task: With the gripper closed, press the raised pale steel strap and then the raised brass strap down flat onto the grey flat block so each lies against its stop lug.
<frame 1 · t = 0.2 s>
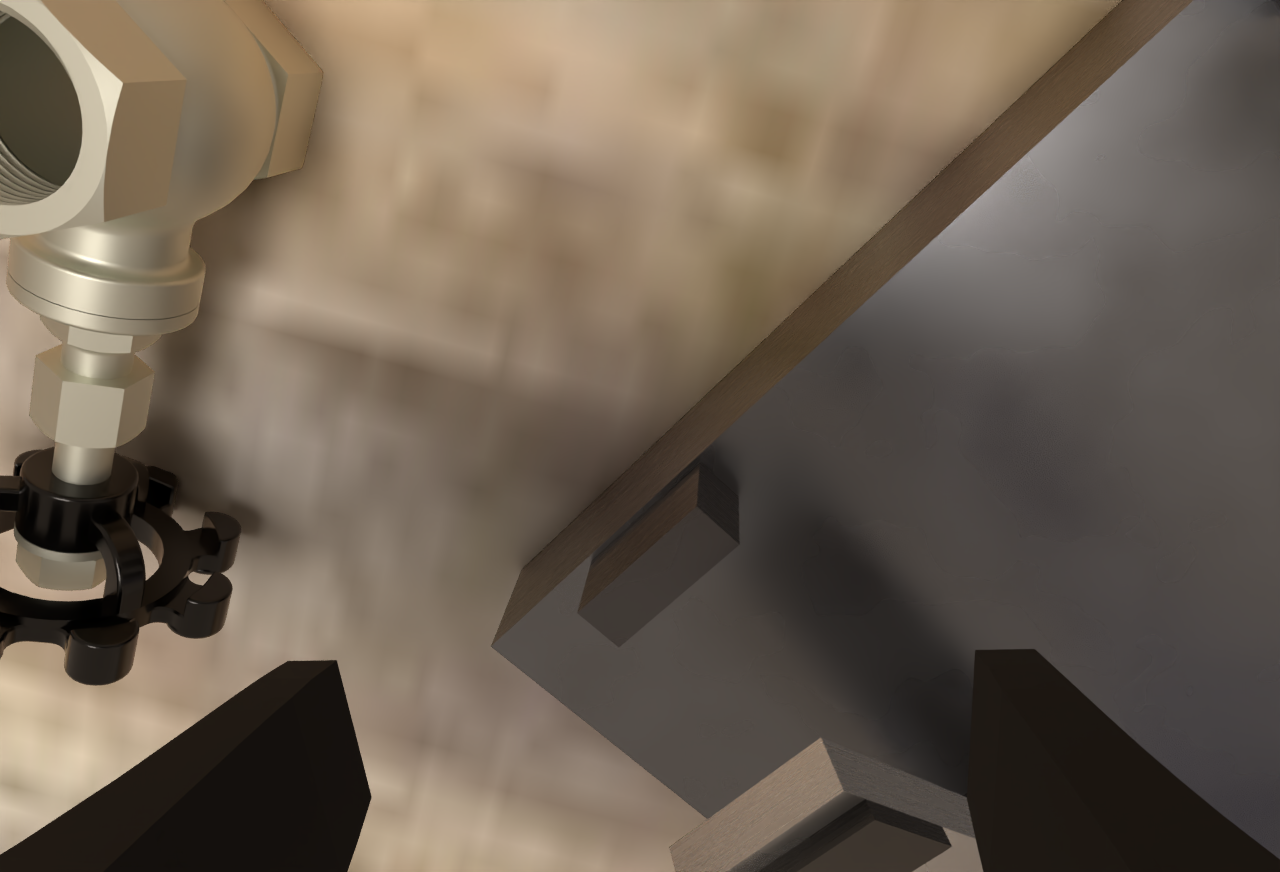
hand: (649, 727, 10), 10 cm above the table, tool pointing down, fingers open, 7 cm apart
valve: (206, 269, 20), on the table
grey flat block: (1143, 462, 19), on the table
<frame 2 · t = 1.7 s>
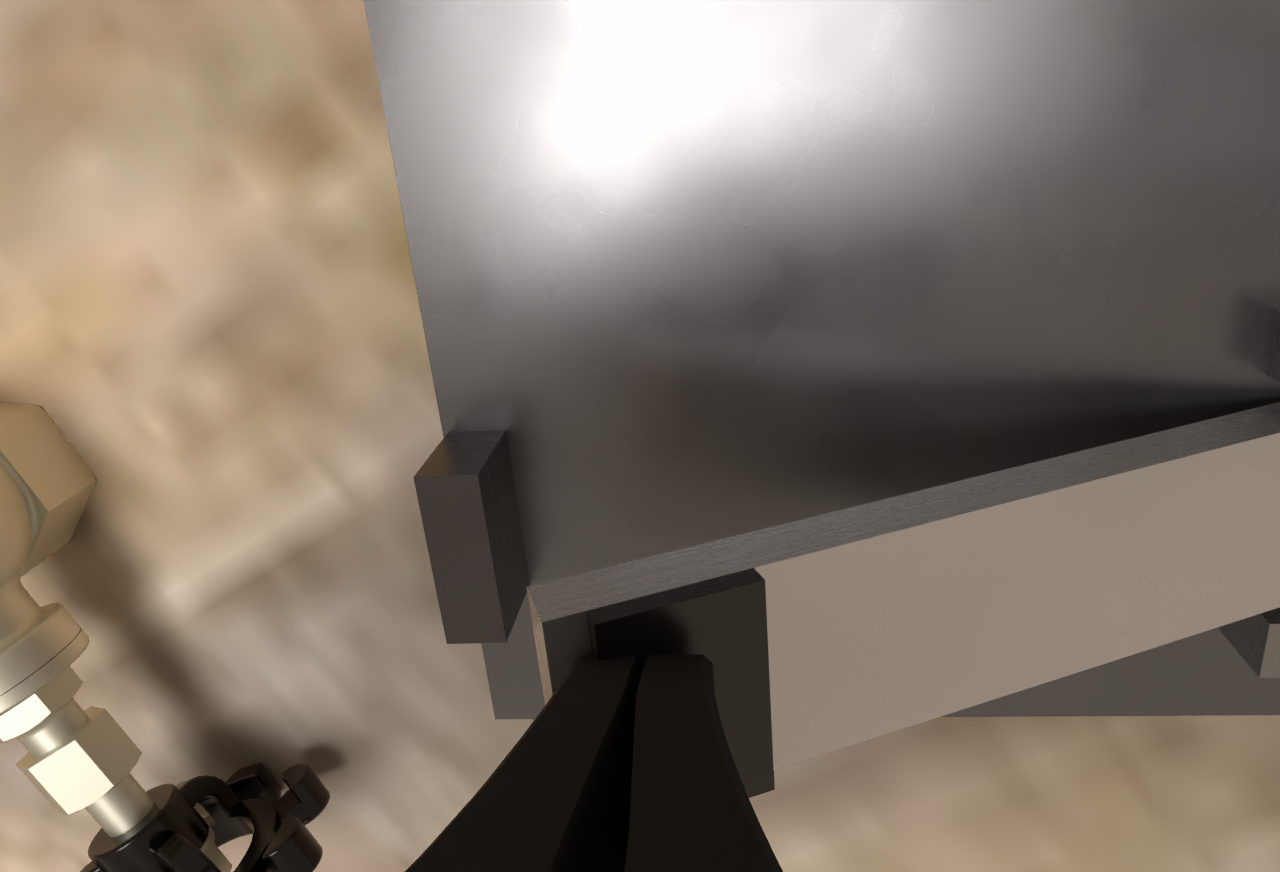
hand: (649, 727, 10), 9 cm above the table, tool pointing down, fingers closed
steel strap: (990, 595, 12), point 6 cm above the table, hinge at 24.2°, touching gripper
valve: (132, 602, 22), on the table
grey flat block: (874, 38, 15), on the table
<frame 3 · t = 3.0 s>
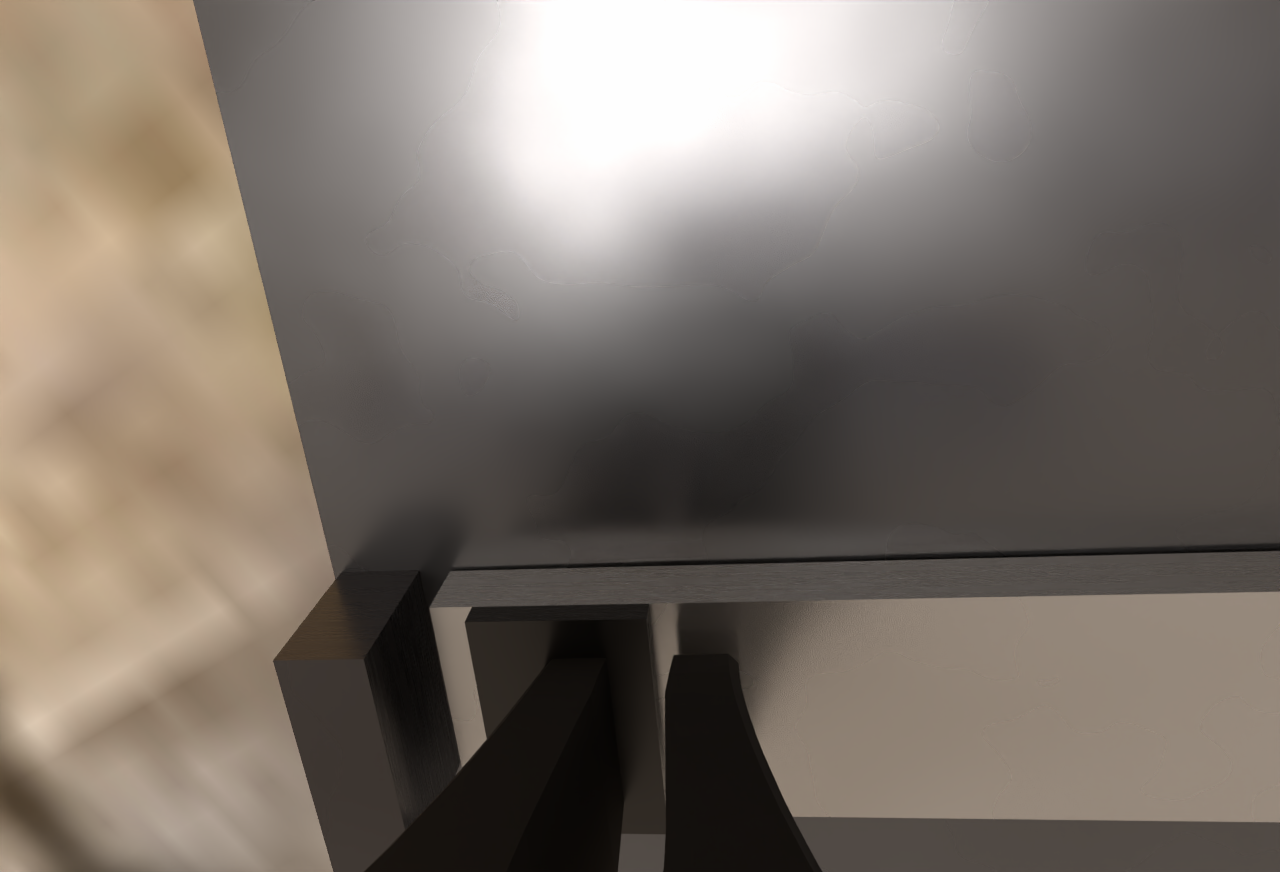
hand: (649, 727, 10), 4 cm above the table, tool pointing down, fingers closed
steel strap: (970, 699, 10), point 4 cm above the table, hinge at -0.3°, touching gripper
grey flat block: (928, 31, 11), on the table
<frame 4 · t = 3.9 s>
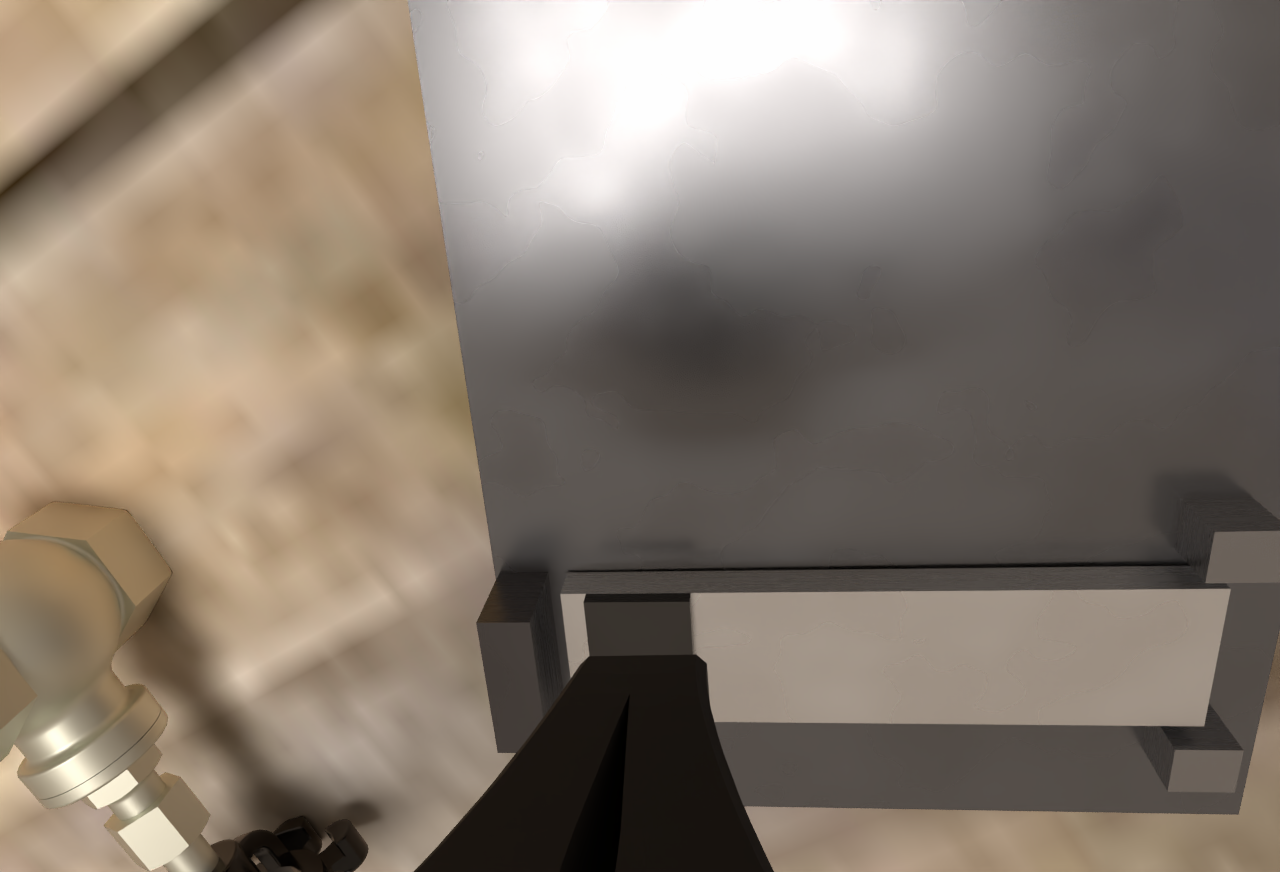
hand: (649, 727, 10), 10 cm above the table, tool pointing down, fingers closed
steel strap: (877, 651, 18), point 4 cm above the table, hinge at -0.3°
valve: (196, 675, 25), on the table
grey flat block: (860, 250, 18), on the table
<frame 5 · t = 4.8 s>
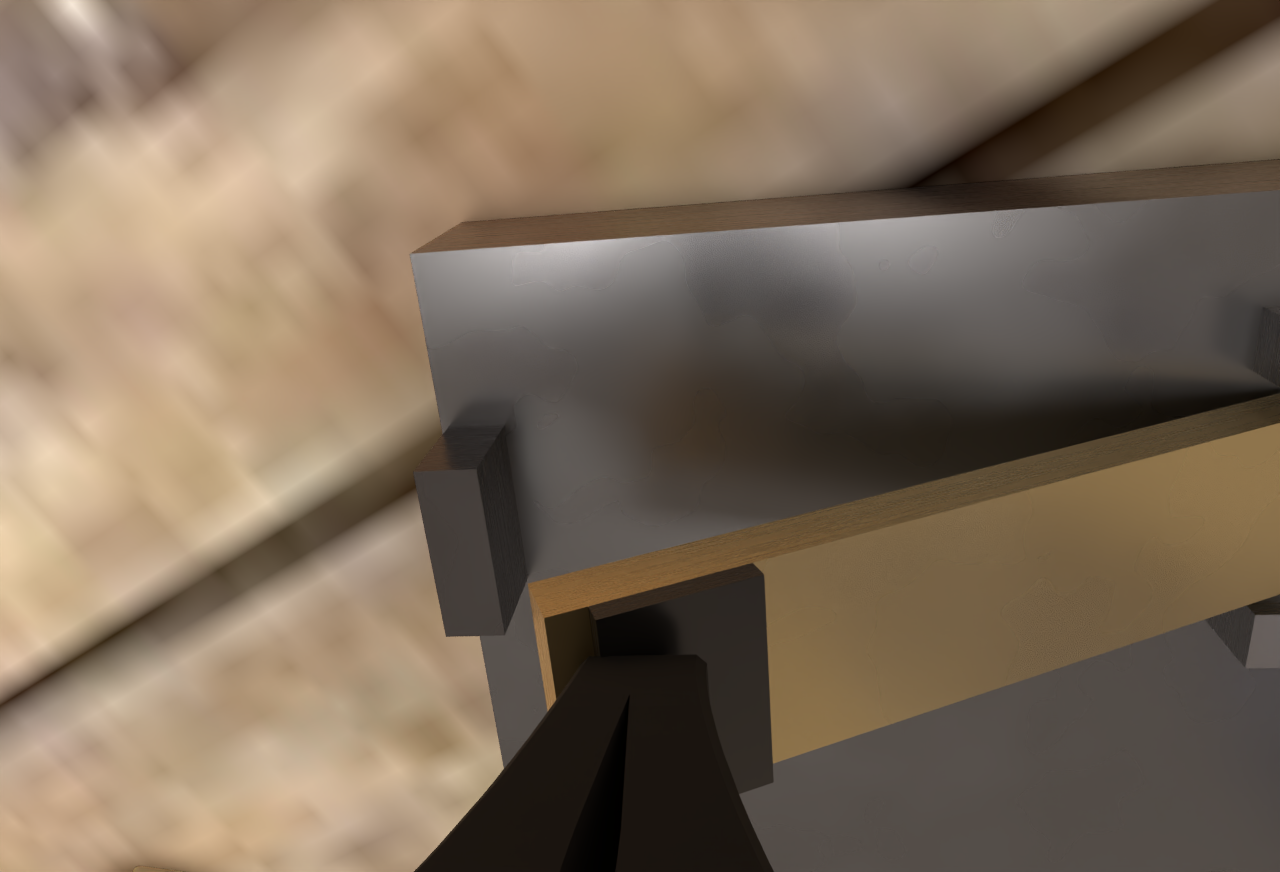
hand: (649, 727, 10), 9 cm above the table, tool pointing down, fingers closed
brass strap: (984, 589, 12), point 6 cm above the table, hinge at 25.0°, touching gripper
grey flat block: (865, 712, 21), on the table
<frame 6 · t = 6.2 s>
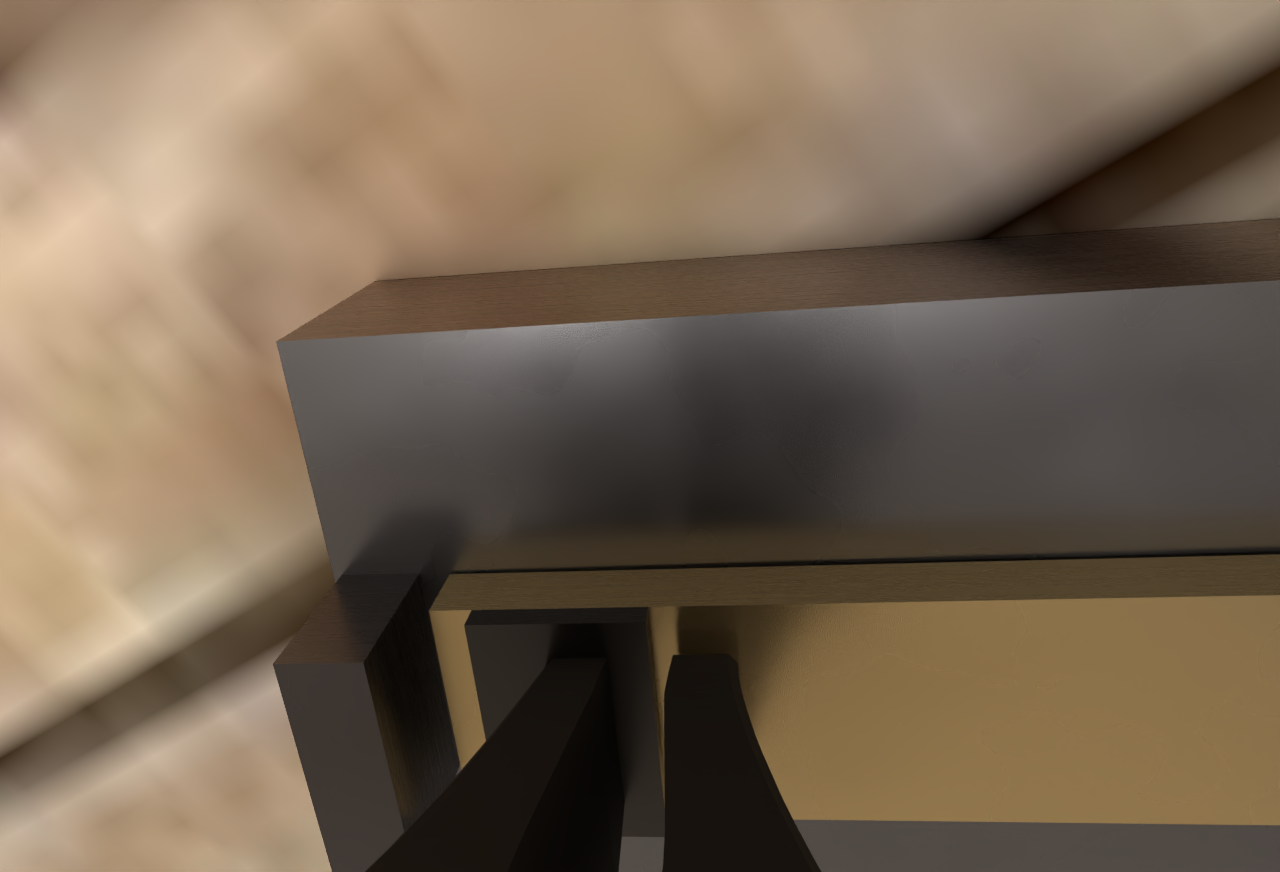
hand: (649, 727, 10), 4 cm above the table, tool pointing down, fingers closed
brass strap: (969, 702, 10), point 4 cm above the table, hinge at -0.3°, touching gripper
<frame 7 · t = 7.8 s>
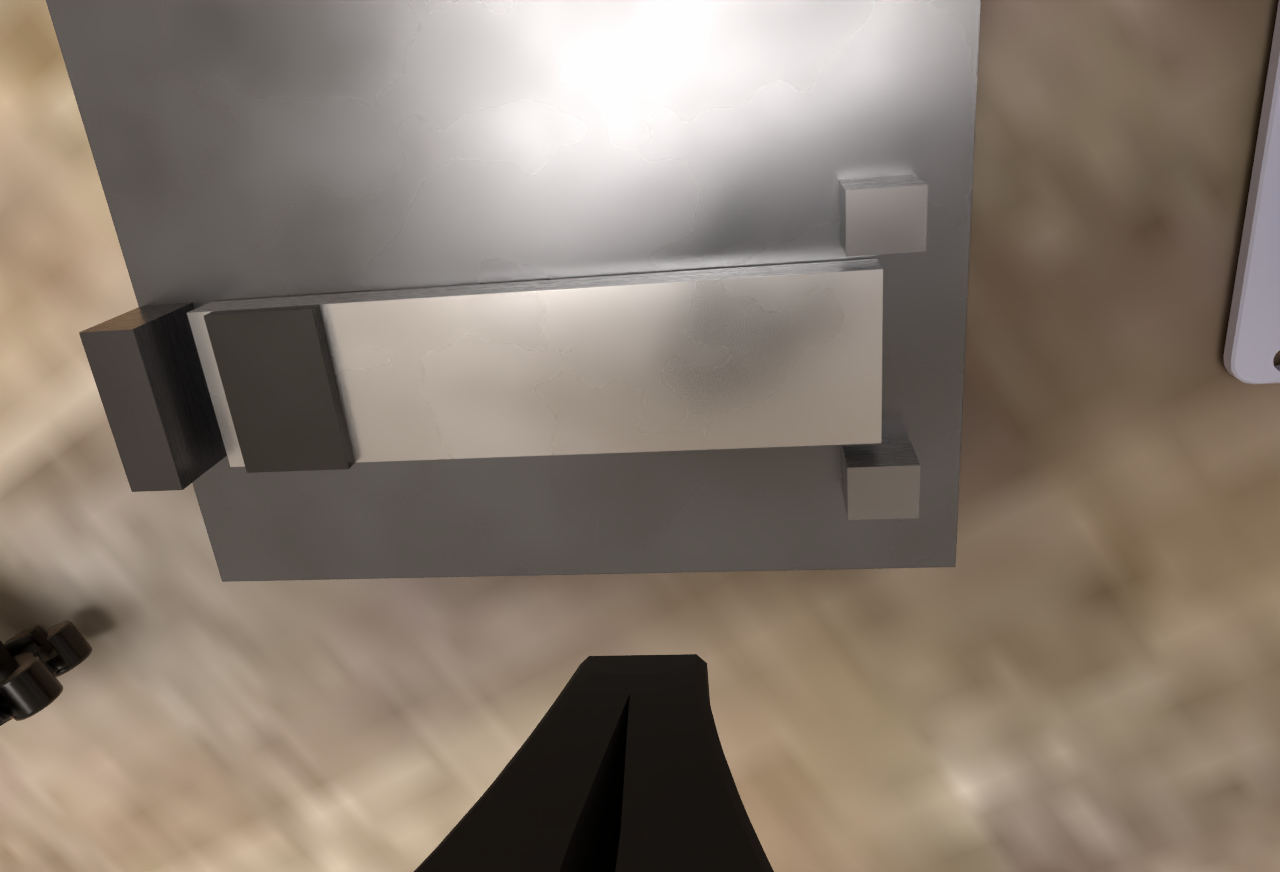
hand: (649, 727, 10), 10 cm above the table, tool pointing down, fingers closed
steel strap: (530, 372, 16), point 4 cm above the table, hinge at -0.3°
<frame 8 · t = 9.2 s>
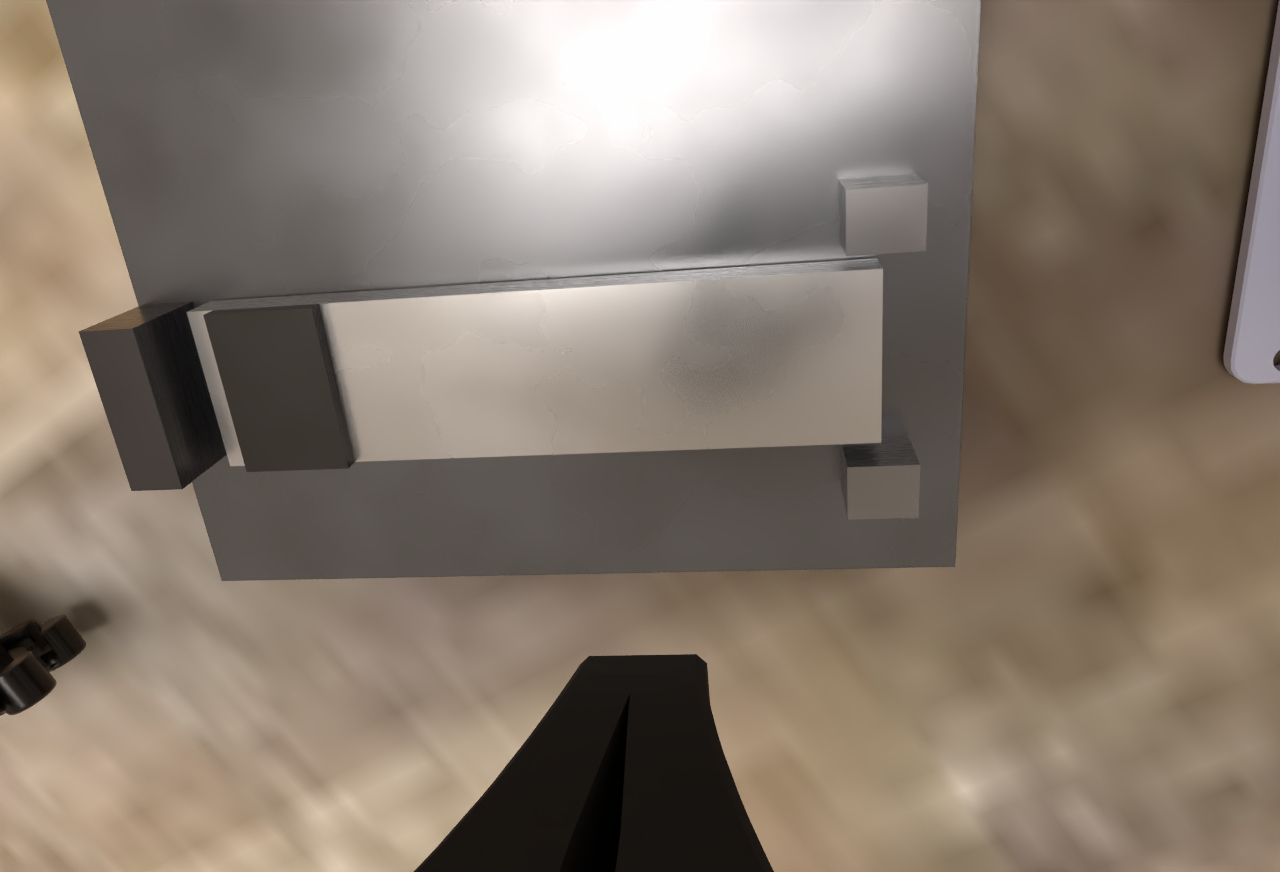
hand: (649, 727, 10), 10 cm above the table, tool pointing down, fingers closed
steel strap: (530, 371, 16), point 4 cm above the table, hinge at -0.3°
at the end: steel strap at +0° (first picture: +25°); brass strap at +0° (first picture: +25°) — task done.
